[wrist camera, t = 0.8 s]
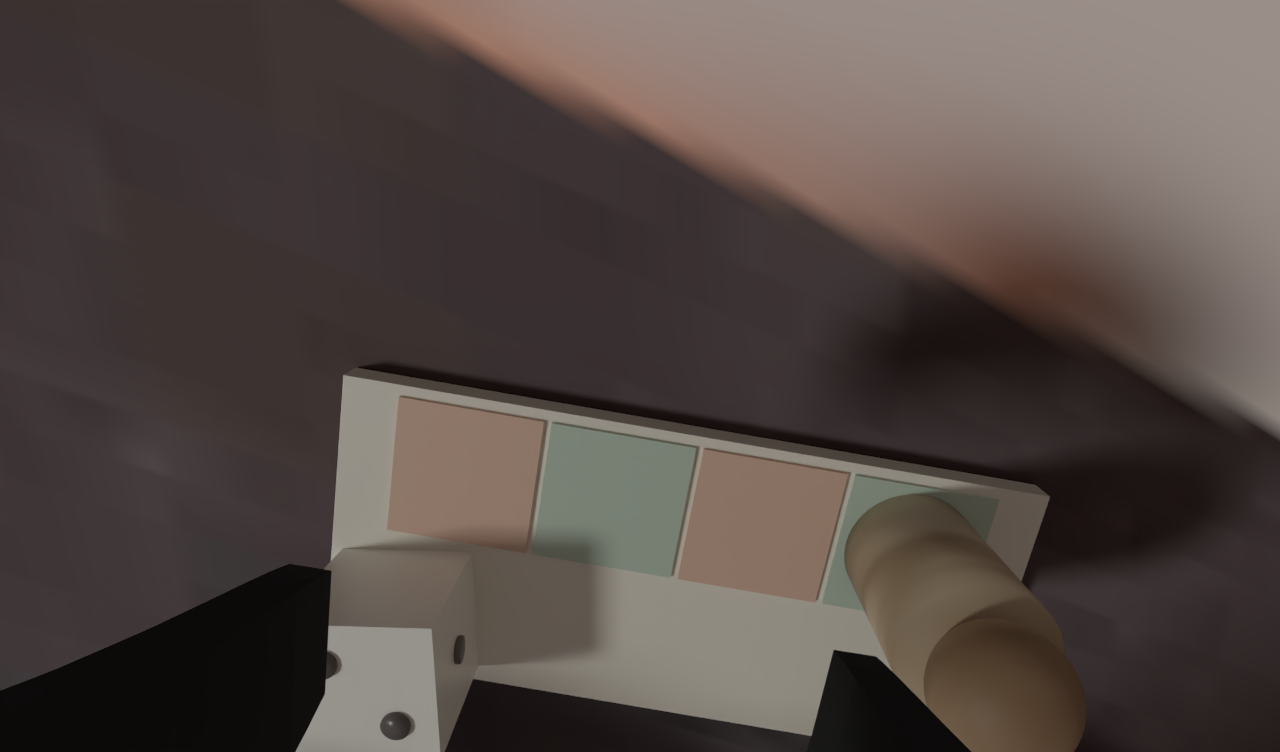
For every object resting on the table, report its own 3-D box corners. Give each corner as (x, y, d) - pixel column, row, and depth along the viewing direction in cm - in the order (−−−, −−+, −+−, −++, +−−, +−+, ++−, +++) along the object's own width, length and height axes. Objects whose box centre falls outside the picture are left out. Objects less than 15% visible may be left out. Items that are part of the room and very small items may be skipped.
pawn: (953, 619, 20) (1100, 842, 13) (830, 598, 20) (915, 810, 13) (989, 506, 19) (1167, 682, 12) (861, 484, 19) (968, 648, 12)
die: (481, 666, 21) (443, 764, 17) (353, 662, 21) (290, 759, 18) (475, 551, 20) (434, 631, 17) (342, 548, 20) (273, 626, 17)
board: (950, 741, 22) (961, 763, 21) (336, 637, 22) (322, 655, 21) (1035, 484, 20) (1052, 498, 19) (356, 367, 20) (341, 376, 19)
